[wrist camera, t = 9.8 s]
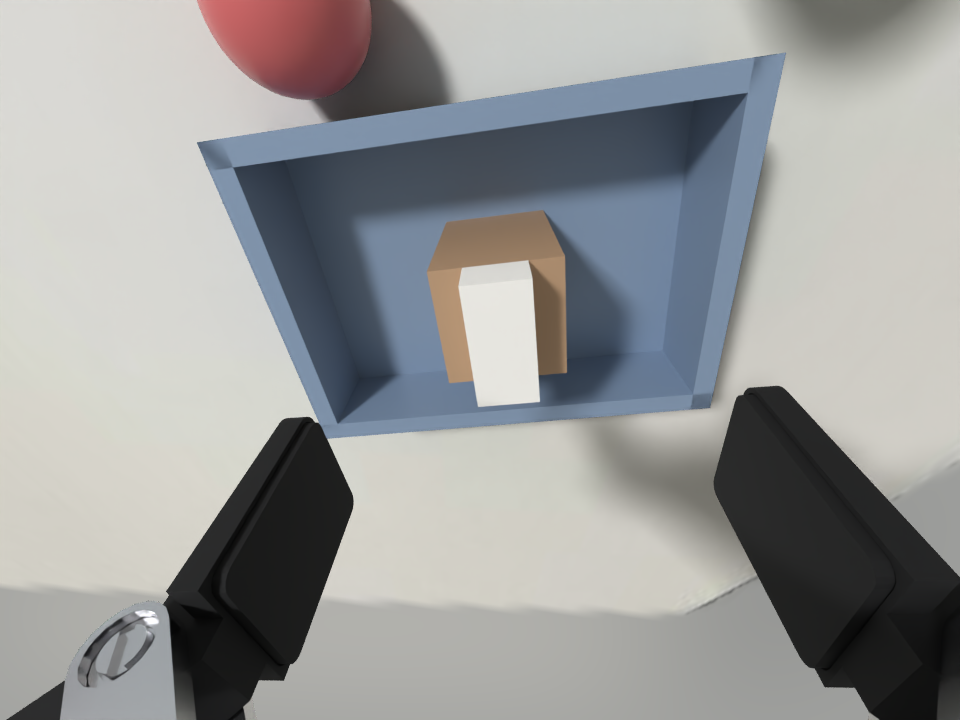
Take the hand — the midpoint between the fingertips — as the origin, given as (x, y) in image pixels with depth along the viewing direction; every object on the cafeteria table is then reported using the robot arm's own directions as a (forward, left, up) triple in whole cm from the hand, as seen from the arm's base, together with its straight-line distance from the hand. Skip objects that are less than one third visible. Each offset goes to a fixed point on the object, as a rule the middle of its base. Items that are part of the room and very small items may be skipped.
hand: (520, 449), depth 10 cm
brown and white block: (0, 0, -15) cm, 15 cm away
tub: (+1, +1, -16) cm, 16 cm away
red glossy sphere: (+7, -11, -16) cm, 21 cm away
